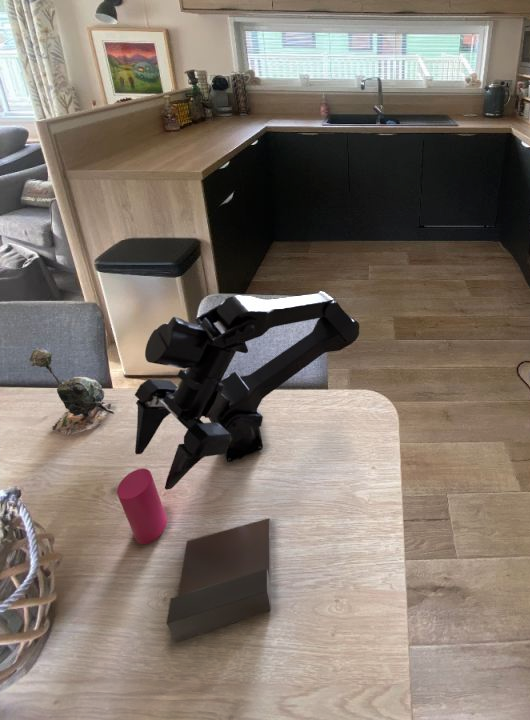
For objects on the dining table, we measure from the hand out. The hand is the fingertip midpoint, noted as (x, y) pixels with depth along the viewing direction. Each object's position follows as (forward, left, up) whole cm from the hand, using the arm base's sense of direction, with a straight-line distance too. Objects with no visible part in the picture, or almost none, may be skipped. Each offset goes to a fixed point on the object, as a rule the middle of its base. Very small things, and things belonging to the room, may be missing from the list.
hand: (152, 470), depth 60 cm
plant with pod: (+15, -25, -10) cm, 31 cm away
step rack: (-9, +14, -10) cm, 19 cm away
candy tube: (+2, +2, -10) cm, 10 cm away
